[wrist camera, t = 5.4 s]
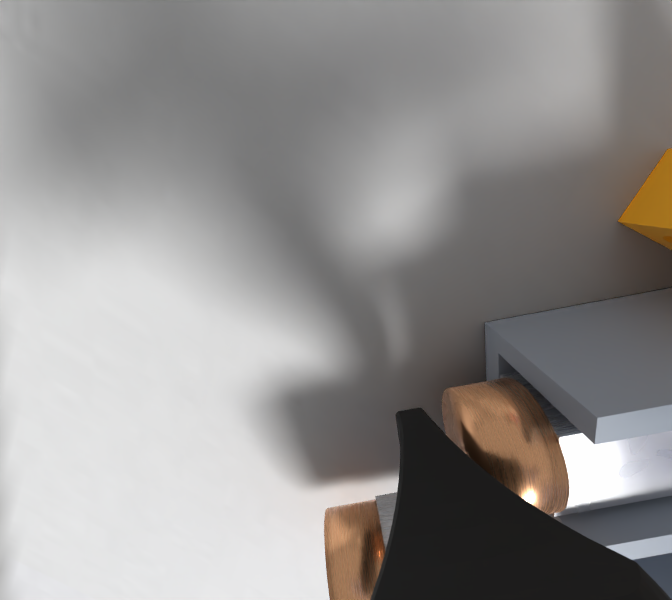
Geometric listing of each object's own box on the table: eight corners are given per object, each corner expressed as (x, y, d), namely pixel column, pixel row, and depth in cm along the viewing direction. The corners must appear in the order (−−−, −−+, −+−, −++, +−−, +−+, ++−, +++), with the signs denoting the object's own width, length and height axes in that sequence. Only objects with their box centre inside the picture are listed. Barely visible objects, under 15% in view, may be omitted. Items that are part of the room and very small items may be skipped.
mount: (672, 473, 16) (839, 611, 11) (489, 506, 16) (570, 658, 11) (716, 279, 13) (987, 346, 8) (484, 322, 13) (597, 417, 8)
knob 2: (643, 414, 13) (773, 508, 9) (445, 451, 13) (496, 558, 10) (659, 324, 12) (817, 391, 8) (438, 365, 12) (494, 451, 8)
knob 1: (516, 518, 15) (583, 633, 11) (340, 550, 15) (348, 675, 11) (517, 449, 14) (594, 553, 10) (323, 485, 14) (325, 601, 10)
